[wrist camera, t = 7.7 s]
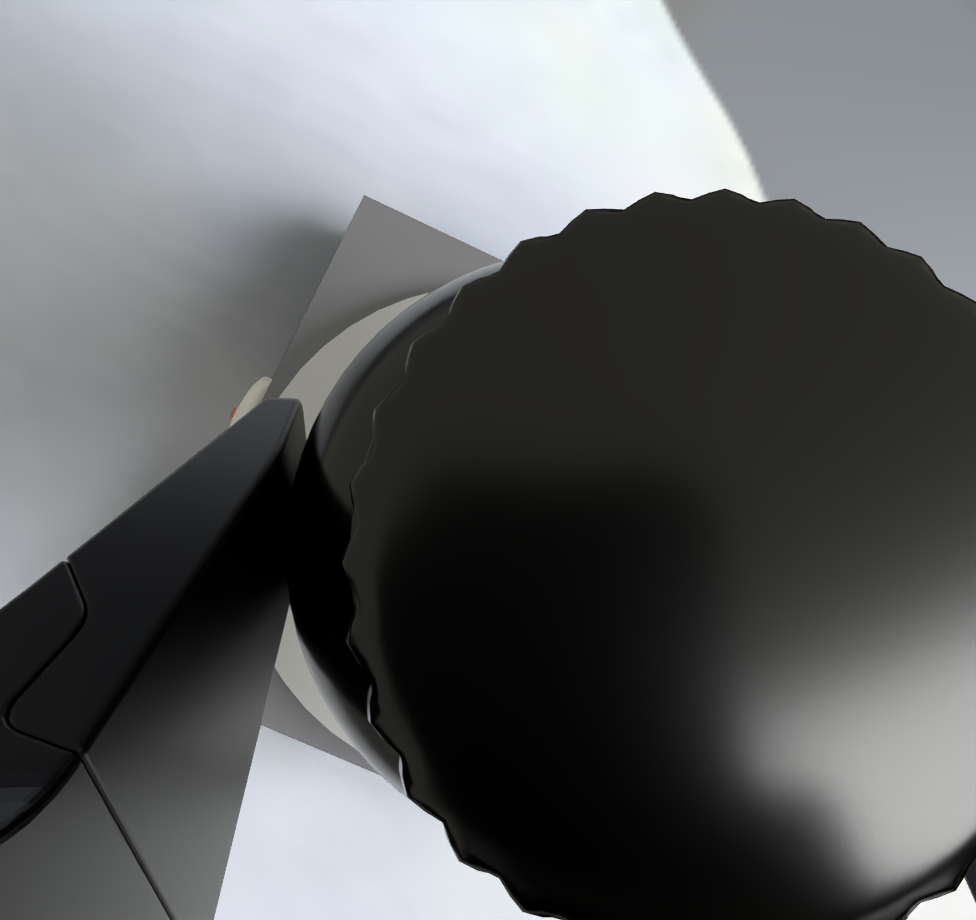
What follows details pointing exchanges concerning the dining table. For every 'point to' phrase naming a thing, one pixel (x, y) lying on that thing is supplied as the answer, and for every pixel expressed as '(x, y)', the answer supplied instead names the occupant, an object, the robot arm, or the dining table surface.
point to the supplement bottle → (663, 566)
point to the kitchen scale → (314, 372)
